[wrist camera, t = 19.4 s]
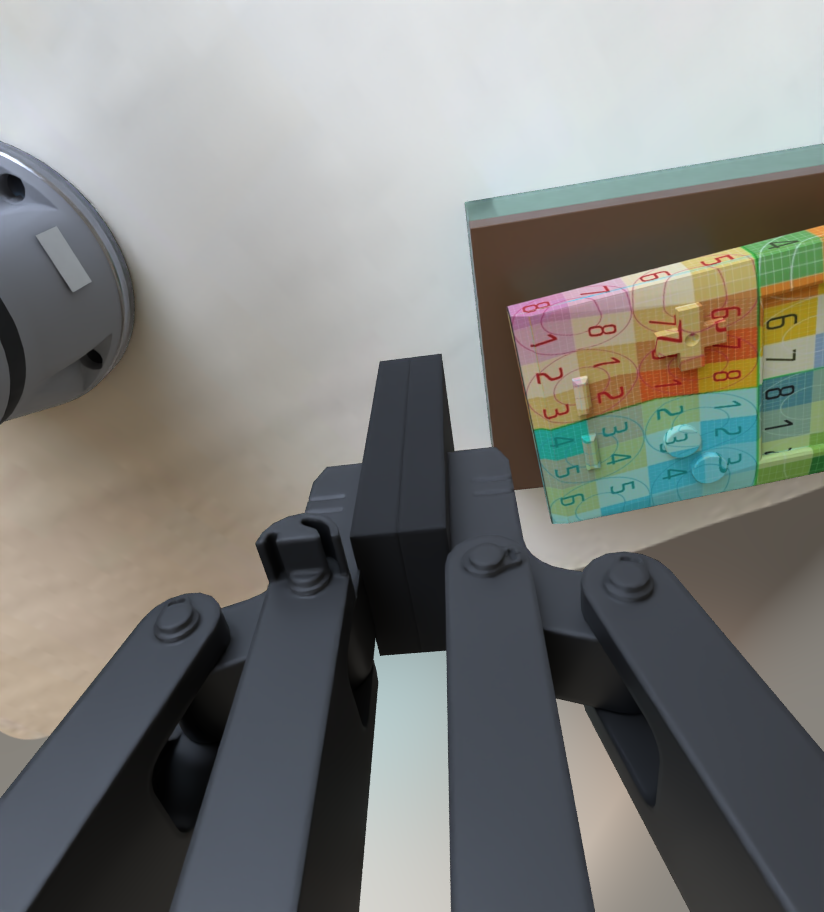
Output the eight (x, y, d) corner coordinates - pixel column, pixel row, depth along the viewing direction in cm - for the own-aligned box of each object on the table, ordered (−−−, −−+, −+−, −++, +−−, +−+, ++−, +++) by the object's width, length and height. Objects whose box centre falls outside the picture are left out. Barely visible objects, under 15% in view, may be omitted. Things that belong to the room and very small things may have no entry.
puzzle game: (511, 324, 27) (1054, 187, 23) (501, 288, 30) (963, 167, 27) (554, 535, 33) (991, 451, 29) (541, 482, 37) (924, 403, 33)
